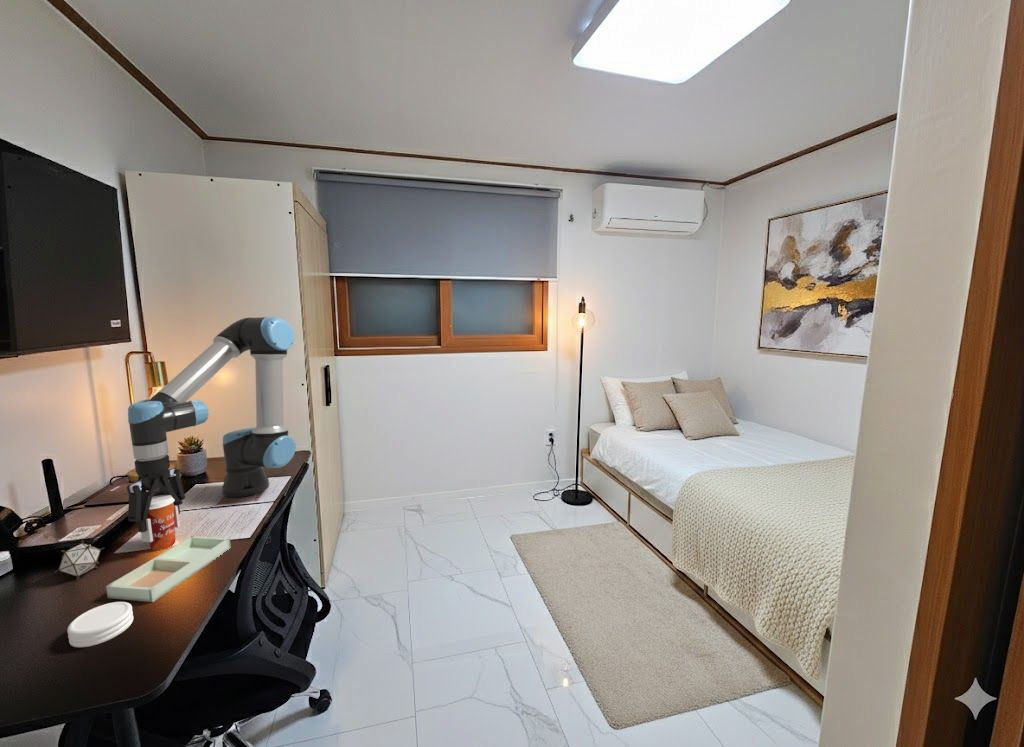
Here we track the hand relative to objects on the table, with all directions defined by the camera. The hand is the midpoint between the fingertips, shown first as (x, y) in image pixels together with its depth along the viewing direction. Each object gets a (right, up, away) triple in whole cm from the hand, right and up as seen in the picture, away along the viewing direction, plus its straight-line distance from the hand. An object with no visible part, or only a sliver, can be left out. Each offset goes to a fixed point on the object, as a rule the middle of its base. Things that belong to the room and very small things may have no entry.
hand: (161, 533), depth 126 cm
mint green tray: (+13, -5, -12) cm, 19 cm away
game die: (-10, -6, -13) cm, 17 cm away
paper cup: (0, -4, +1) cm, 4 cm away
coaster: (+14, -9, -34) cm, 37 cm away
